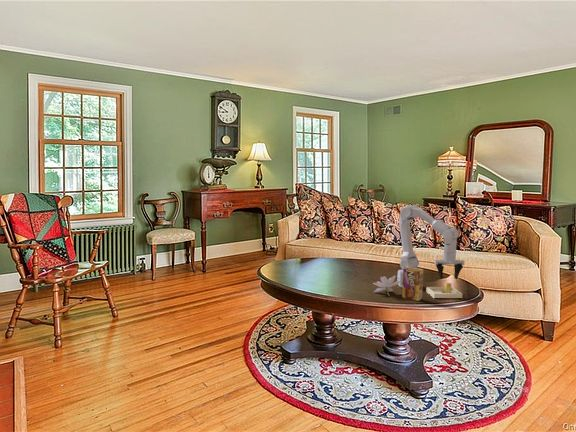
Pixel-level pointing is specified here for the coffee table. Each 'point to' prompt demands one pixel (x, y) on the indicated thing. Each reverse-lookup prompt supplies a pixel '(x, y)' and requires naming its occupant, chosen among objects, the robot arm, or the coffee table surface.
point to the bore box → (439, 292)
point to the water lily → (386, 284)
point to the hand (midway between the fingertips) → (448, 278)
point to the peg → (447, 288)
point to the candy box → (412, 283)
